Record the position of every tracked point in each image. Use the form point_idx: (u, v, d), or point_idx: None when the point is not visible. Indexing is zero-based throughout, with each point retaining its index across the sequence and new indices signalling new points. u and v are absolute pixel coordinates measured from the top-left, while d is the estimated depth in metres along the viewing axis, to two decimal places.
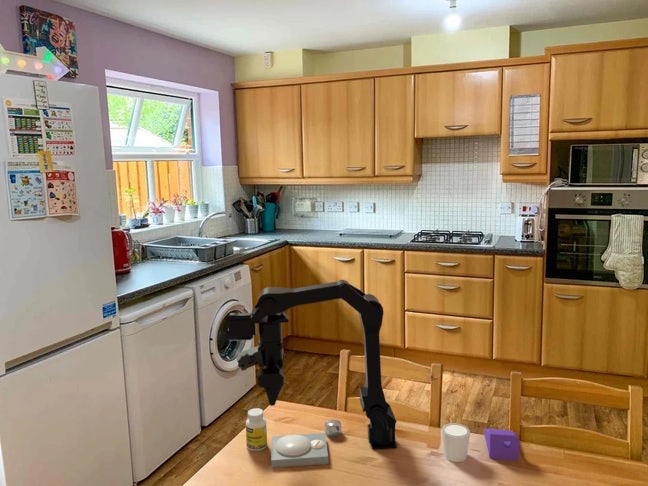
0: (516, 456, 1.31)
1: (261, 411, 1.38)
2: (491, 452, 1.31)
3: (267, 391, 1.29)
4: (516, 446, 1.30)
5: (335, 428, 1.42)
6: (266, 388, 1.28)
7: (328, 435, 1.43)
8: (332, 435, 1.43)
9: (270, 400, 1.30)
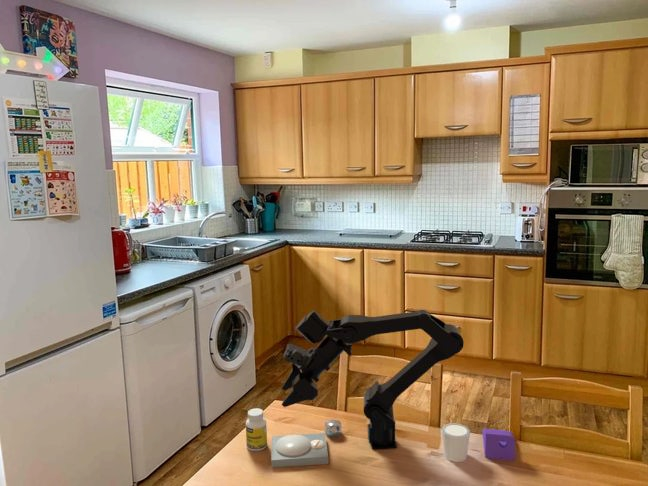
0: (512, 456, 1.30)
1: (261, 411, 1.38)
2: (487, 452, 1.32)
3: (292, 393, 1.31)
4: (512, 446, 1.30)
5: (335, 428, 1.42)
6: (294, 391, 1.31)
7: (328, 435, 1.43)
8: (332, 435, 1.43)
9: (286, 401, 1.32)
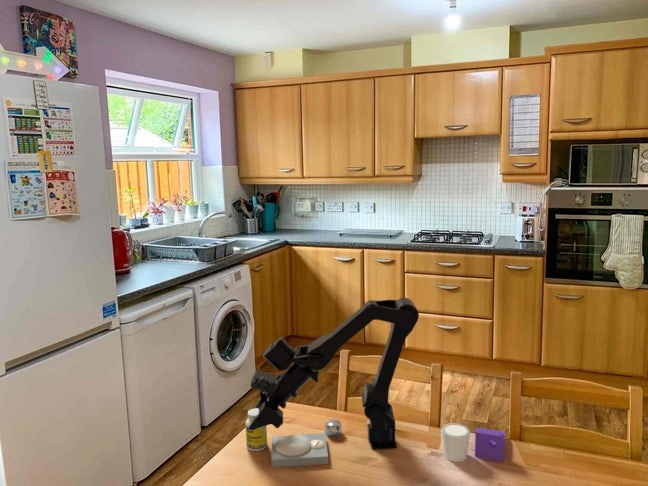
0: (501, 457, 1.30)
1: None
2: (476, 450, 1.32)
3: (258, 417, 1.34)
4: (501, 447, 1.30)
5: (335, 428, 1.42)
6: (260, 415, 1.33)
7: (328, 435, 1.43)
8: (332, 435, 1.43)
9: (253, 424, 1.35)
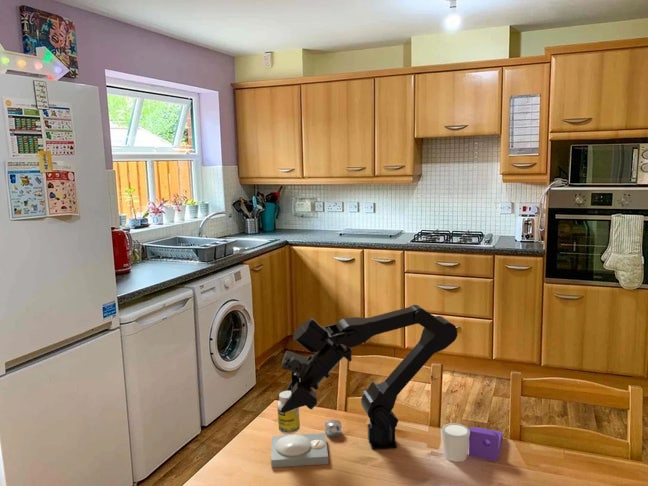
0: (495, 456, 1.30)
1: None
2: (470, 449, 1.33)
3: (290, 399, 1.29)
4: (495, 446, 1.30)
5: (335, 428, 1.42)
6: (292, 396, 1.29)
7: (328, 435, 1.43)
8: (332, 435, 1.43)
9: (285, 407, 1.31)
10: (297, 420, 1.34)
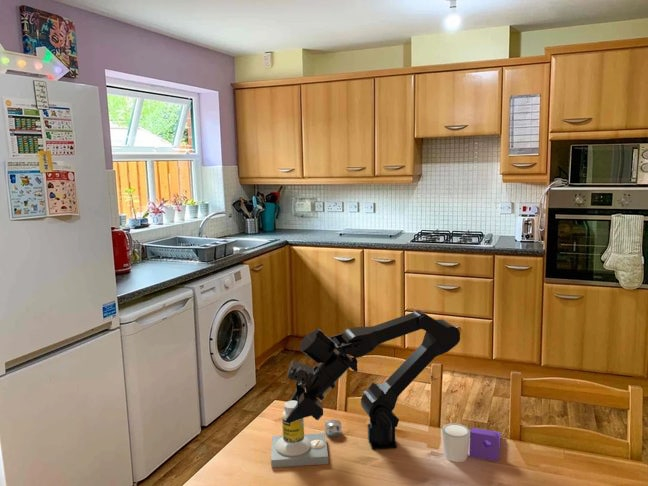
0: (496, 457, 1.30)
1: None
2: (471, 450, 1.32)
3: (296, 409, 1.29)
4: (496, 447, 1.30)
5: (335, 428, 1.42)
6: (298, 406, 1.29)
7: (328, 435, 1.43)
8: (332, 435, 1.43)
9: (290, 417, 1.30)
10: (302, 430, 1.33)
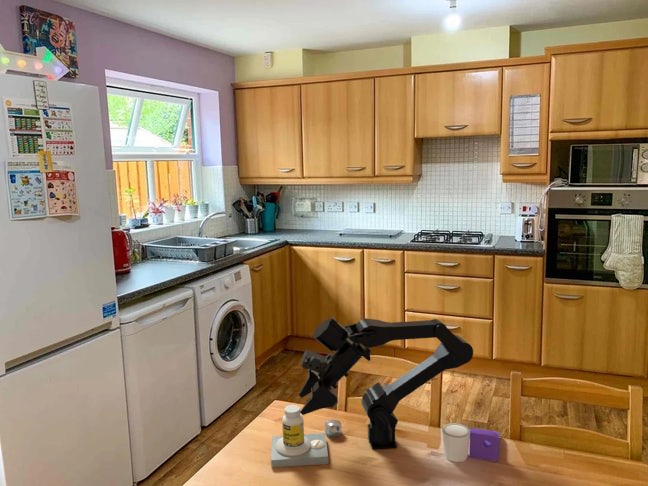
0: (496, 457, 1.30)
1: (298, 408, 1.34)
2: (471, 451, 1.32)
3: (311, 401, 1.29)
4: (496, 447, 1.30)
5: (335, 428, 1.42)
6: (313, 398, 1.28)
7: (328, 435, 1.43)
8: (332, 435, 1.43)
9: (305, 409, 1.30)
10: (302, 435, 1.34)
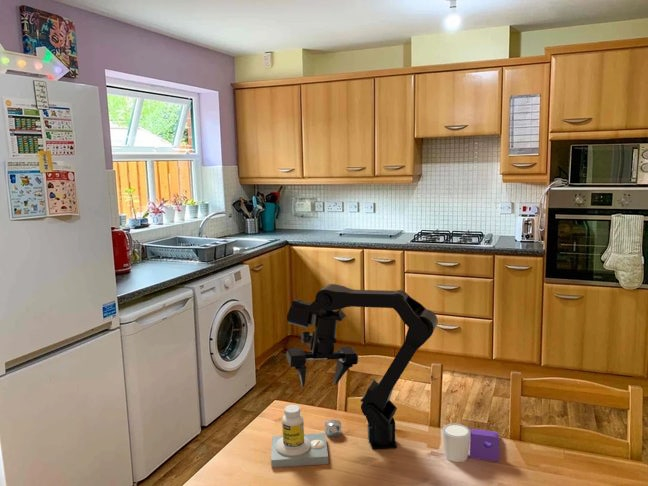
0: (496, 457, 1.30)
1: (298, 408, 1.34)
2: (471, 452, 1.32)
3: (298, 369, 1.42)
4: (496, 447, 1.30)
5: (335, 428, 1.42)
6: None
7: (328, 435, 1.43)
8: (332, 435, 1.43)
9: (300, 379, 1.42)
10: (302, 434, 1.34)
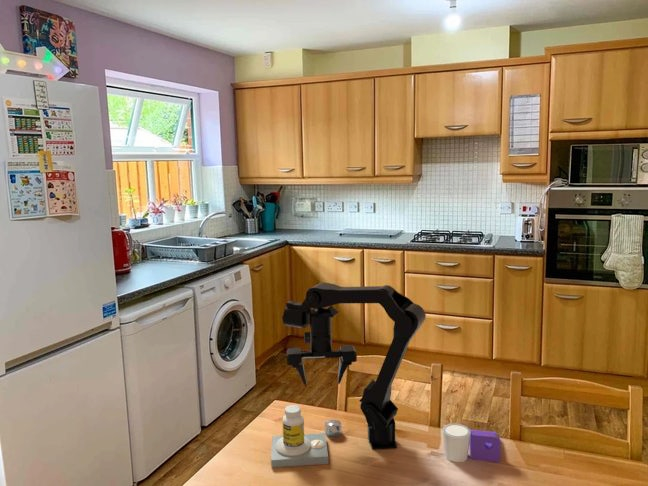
0: (497, 458, 1.30)
1: (298, 408, 1.34)
2: (472, 453, 1.31)
3: None
4: (497, 448, 1.30)
5: (335, 428, 1.42)
6: None
7: (328, 435, 1.43)
8: (332, 435, 1.43)
9: None
10: (302, 435, 1.34)
